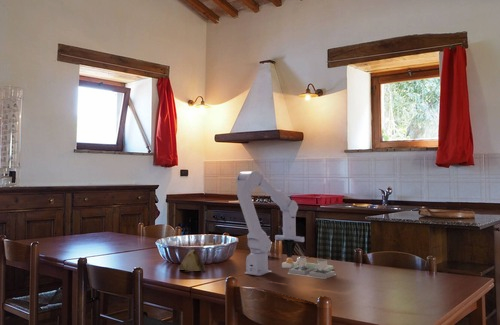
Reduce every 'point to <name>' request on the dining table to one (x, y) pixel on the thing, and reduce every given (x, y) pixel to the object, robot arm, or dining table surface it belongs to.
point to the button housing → (288, 265)
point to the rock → (192, 262)
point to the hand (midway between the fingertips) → (289, 256)
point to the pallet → (311, 273)
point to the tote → (315, 266)
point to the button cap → (290, 260)
